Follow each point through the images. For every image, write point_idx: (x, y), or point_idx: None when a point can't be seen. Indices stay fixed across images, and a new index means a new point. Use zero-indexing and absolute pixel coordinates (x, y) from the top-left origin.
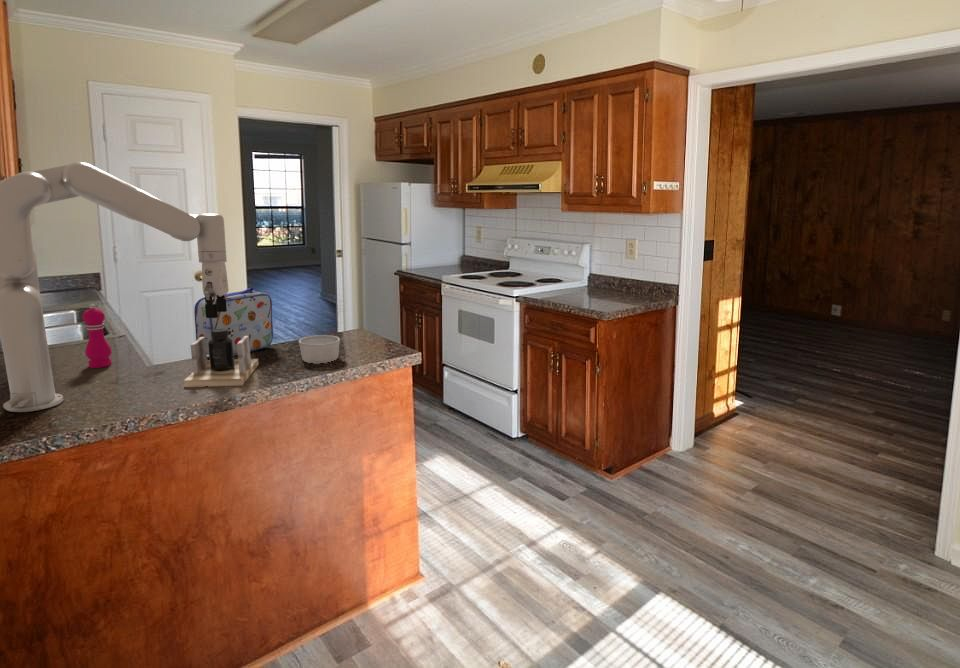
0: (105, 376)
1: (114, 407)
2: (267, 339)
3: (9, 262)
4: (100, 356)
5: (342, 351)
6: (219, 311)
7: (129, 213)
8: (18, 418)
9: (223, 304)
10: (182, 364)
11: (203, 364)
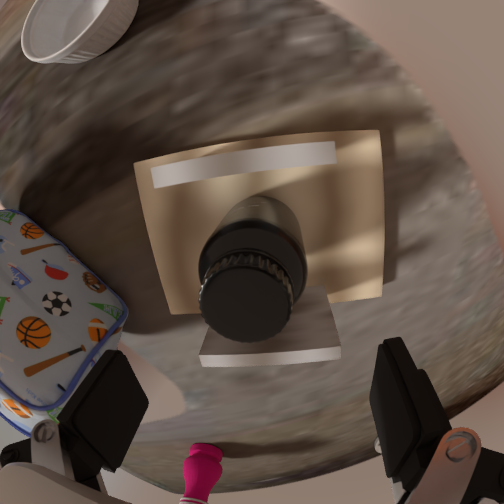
0: (271, 434)
1: (461, 347)
2: (8, 215)
3: None
4: (217, 463)
5: None
6: (140, 385)
7: None
8: (451, 415)
9: (104, 400)
10: (172, 358)
11: None
